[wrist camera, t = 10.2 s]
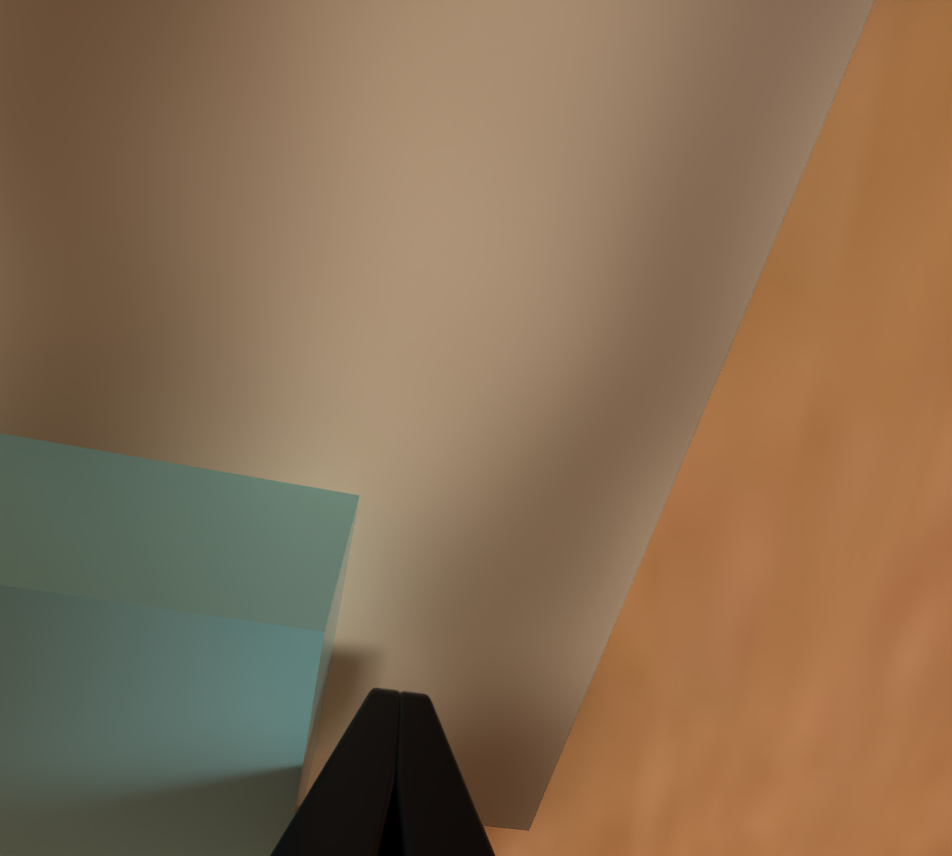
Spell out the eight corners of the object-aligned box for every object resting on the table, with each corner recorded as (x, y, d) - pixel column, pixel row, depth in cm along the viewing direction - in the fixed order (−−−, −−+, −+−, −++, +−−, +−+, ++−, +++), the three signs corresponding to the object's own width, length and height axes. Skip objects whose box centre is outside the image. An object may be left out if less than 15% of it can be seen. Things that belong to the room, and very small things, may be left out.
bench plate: (892, -281, 7) (1056, -435, 5) (518, 735, 13) (529, 830, 11) (-689, -872, 5) (-1362, -1464, 3) (-216, 641, 11) (-341, 736, 10)
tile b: (359, 495, 8) (325, 631, 6) (315, 748, 10) (276, 922, 8) (-49, 424, 8) (-262, 548, 5) (-9, 710, 10) (-150, 886, 7)
